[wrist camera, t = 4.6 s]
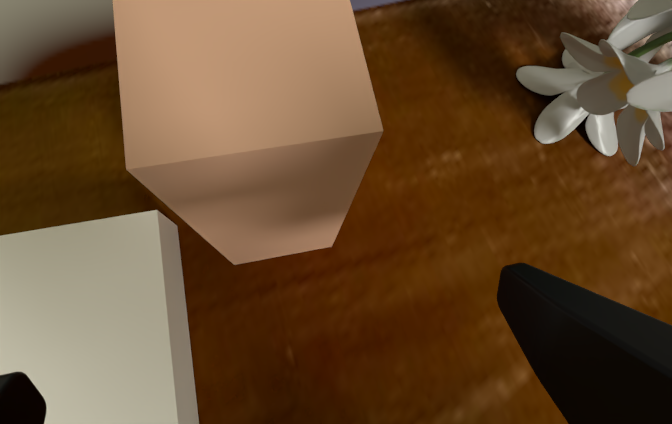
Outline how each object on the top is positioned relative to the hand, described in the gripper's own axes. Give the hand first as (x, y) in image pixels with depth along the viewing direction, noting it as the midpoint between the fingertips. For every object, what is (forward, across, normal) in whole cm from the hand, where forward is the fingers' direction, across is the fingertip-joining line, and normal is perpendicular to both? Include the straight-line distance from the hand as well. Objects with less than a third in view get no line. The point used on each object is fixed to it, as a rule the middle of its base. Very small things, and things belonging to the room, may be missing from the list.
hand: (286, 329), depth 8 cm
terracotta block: (+13, 0, +4) cm, 14 cm away
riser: (+9, +10, +8) cm, 16 cm away
